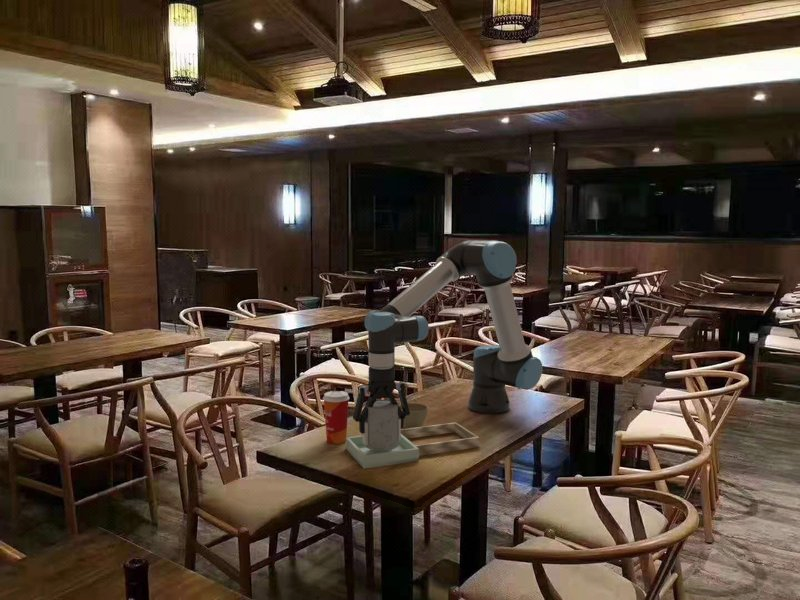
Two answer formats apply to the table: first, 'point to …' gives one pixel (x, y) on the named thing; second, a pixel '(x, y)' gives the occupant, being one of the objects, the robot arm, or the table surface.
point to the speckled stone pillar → (382, 426)
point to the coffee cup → (336, 416)
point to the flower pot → (415, 415)
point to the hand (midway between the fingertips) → (381, 441)
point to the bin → (381, 453)
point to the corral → (445, 446)
